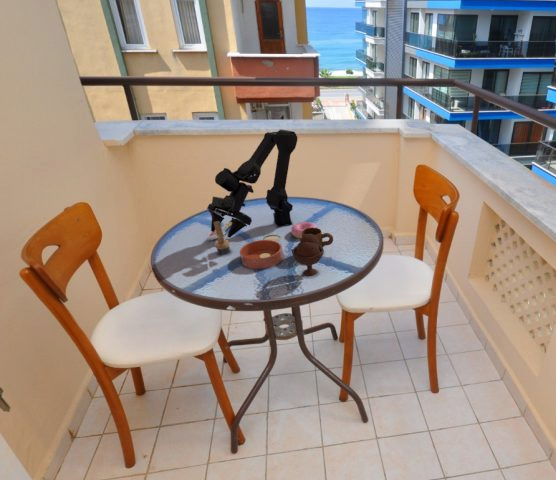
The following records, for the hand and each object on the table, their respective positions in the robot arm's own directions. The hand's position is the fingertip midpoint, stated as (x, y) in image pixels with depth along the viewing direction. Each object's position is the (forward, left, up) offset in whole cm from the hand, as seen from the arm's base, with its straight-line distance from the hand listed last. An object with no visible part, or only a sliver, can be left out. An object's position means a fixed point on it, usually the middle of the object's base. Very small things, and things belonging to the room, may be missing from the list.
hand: (220, 234), depth 157 cm
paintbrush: (-1, -19, -8) cm, 21 cm away
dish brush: (0, 0, -8) cm, 8 cm away
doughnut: (-33, -4, -8) cm, 34 cm away
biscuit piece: (-14, +11, -7) cm, 19 cm away
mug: (-34, +15, -8) cm, 38 cm away
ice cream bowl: (-27, +28, -8) cm, 40 cm away
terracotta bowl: (-13, +11, -8) cm, 19 cm away
